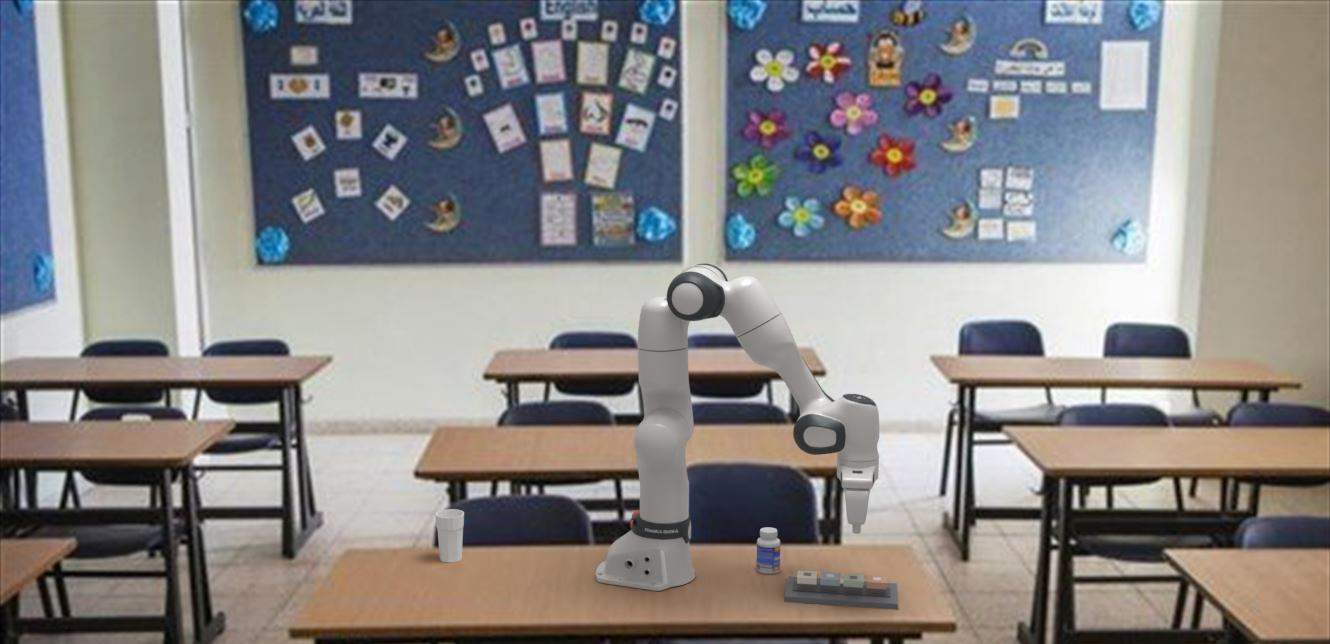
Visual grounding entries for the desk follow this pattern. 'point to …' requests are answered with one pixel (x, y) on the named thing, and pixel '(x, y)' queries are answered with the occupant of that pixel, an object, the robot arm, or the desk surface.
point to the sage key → (853, 580)
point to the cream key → (807, 577)
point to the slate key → (830, 579)
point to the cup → (450, 534)
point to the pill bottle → (768, 551)
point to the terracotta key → (876, 582)
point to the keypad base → (841, 594)
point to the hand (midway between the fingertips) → (856, 531)
